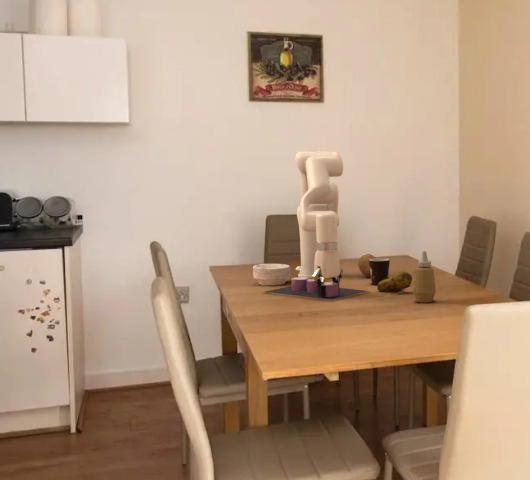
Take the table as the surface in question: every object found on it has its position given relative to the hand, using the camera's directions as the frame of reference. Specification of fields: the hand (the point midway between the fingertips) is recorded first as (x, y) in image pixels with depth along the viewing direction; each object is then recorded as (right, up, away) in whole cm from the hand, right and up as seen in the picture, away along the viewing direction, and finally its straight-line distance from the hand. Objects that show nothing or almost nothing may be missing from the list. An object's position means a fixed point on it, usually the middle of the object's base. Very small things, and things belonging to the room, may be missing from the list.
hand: (328, 294), depth 288 cm
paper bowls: (-26, +5, +32) cm, 42 cm away
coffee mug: (+19, +6, +31) cm, 37 cm away
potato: (+25, +1, +9) cm, 26 cm away
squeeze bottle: (+35, -3, -10) cm, 37 cm away
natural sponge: (+13, +10, +49) cm, 52 cm away
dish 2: (0, 0, 0) cm, 0 cm away
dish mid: (-6, +2, +11) cm, 12 cm away
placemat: (-6, +1, +11) cm, 12 cm away
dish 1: (-12, +3, +15) cm, 20 cm away
